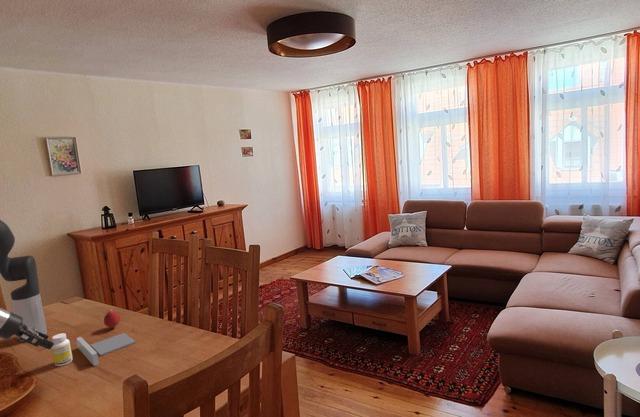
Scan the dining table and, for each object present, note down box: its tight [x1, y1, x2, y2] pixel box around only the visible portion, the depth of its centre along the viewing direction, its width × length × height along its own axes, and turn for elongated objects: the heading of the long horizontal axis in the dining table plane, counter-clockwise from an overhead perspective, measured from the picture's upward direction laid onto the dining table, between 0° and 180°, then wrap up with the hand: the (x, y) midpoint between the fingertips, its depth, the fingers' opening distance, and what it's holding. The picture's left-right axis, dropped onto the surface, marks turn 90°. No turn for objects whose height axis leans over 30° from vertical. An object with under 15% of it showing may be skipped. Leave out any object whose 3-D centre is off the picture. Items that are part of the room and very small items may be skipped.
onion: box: [103, 309, 121, 329], centre depth 162 cm, size 6×6×8 cm
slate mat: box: [90, 332, 137, 356], centre depth 147 cm, size 12×12×1 cm
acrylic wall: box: [76, 336, 100, 367], centre depth 139 cm, size 20×2×4 cm, turn 45°
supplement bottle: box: [50, 332, 74, 367], centre depth 136 cm, size 5×5×10 cm
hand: (49, 342), depth 133 cm, fingers open, 8 cm apart
